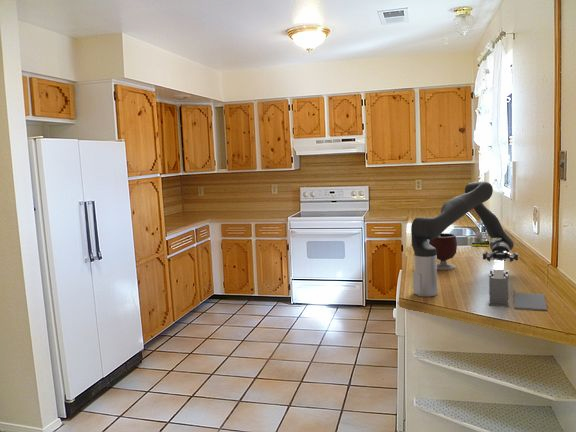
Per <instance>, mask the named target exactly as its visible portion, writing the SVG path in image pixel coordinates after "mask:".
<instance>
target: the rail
mask: <svg viewBox="0 0 576 432" xmlns="http://www.w3.org/2000/svg"><path fill="white" fill-rule="evenodd" d="M492 272H493V279H503V277H504V273H505V261H504V260H494V263H493V269H492Z"/></svg>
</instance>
